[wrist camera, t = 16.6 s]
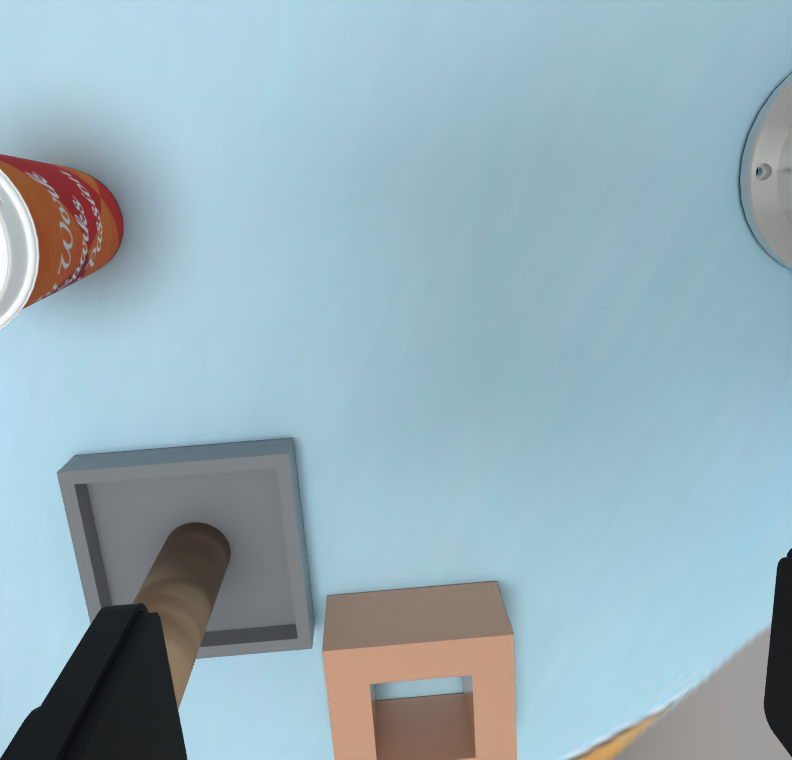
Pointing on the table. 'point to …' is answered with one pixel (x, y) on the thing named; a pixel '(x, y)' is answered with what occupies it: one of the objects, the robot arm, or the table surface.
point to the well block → (421, 673)
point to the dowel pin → (185, 592)
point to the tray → (205, 503)
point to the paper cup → (50, 230)
